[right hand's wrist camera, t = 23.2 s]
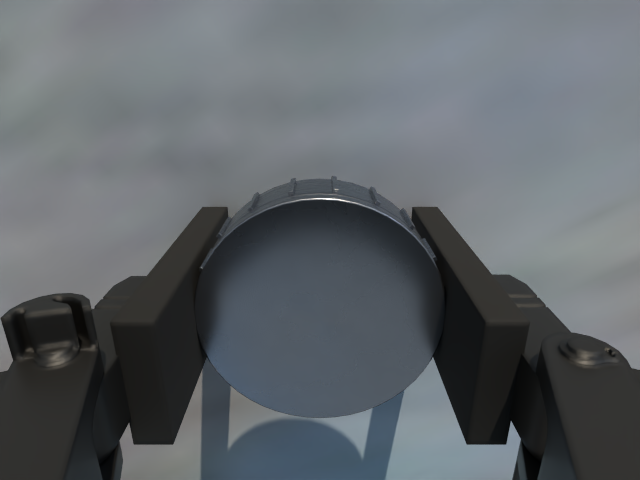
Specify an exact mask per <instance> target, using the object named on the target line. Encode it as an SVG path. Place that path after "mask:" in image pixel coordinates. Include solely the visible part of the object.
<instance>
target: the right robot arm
mask: <svg viewBox="0 0 640 480" xmlns="http://www.w3.org/2000/svg"><path fill="white" fill-rule="evenodd" d="M227 218H228V208H227V207H202V208H201V210H200V211H199V212H198V213H197V215H196V216H195V217H194V218H193V220H192V221H191V222H190V223H189V225H188V226H187V227H186V228H185V229H184V231H183V232H182V233H181V234H180V236H179V237H178V238H177V239H176V241H175V242H174V243H173V244H172V246H171V247H170V248H169V249H168V251H167V252H166V253H165V254H164V255H163V257H162V258H161V259H160V260H159V262H158V263H157V264H156V265H155V267H154V268H153V269H152V270H151V272H150V273H149V274H148V275H147V276H131V277H129V278H127V279H125V280H123V281H122V282H120V283H118V284H116V285H114V286H113V287H112V288H111V289H110V291H109V292H108V293H107V294H106V295H105V296H104V297H103V299H101V300H100V301H99V302H98V304H97V305H96V306H95V309H92V310H91V305H90V300H89V299H88V298H86V297H85V296H83V295H79V294H73V293H62V294H52V295H47V296H42V297H38V298H35V299H32V300H29V301H26V302H23V303H21V304H19V305H18V306H16V307H14V308H12V309H10V310H9V311H8V312H7V313H6V314H4V315H3V316H2V317H1V321H2V324H3V328H4V331H5V334H6V338H7V341H8V344H9V348H10V351H11V354H12V358H13V362H12V364H11V366H10V368H9V370H8V371H4V372H0V480H120V478H121V471H122V464H123V458H122V451H121V446H120V441H119V440H120V438H121V436H122V435H123V433H124V431H125V429H126V427H127V425H128V423H130V428H131V433H132V438H133V443H134V444H173V443H174V441H175V438H176V436H177V433H178V430H179V428H180V425H181V423H182V420H183V417H184V415H185V412H186V410H187V407H188V404H189V402H190V399H191V397H192V394H193V391H194V389H195V386H196V384H197V381H198V378H199V376H200V373H201V370H202V368H203V365H204V363H205V360H206V357H207V356H206V354H205V352H204V350H203V348H202V346H201V343H200V340H199V337H198V334H197V329H196V321H195V312H194V297H195V289H196V285H197V282H198V278H199V275H200V272H199V269H200V266H201V265H202V263H203V261H204V260H205V258H206V256H207V254H208V253H209V251H210V249H211V248H213V247H214V245H215V244H216V242H217V240H218V238H217V237H216V236H217V235H218V233H219V231H220V230H221V228H222V226H223V224H224V223H225V221H226V219H227ZM411 221H412V222H413V224H414V226H415V229H416V230H417V232H418V234H419V235H420V237H421V239H423V238H425V239H426V241H427V243H428V244H429V246H430V248H431V249H432V251H433V253H434V254H435V256H436V258H437V260H436V261H435V263H436V266H437V268H438V270H439V272H440V275H441V278H442V282H443V286H444V289H445V298H446V310H445V319H444V327H443V334H442V337H441V339H440V342H439V345H438V348H437V350H436V351H435V353H434V355H433V358H434V360H435V363H436V365H437V368H438V371H439V373H440V376H441V379H442V381H443V384H444V386H445V389H446V392H447V394H448V397H449V399H450V402H451V405H452V407H453V410H454V412H455V415H456V418H457V420H458V423H459V425H460V428H461V431H462V433H463V436H464V438H465V441H466V444H506V443H507V437H508V432H509V427H510V422H511V421H512V423H513V425H514V427H515V429H516V430H517V432H518V434H519V436H520V438H521V441H520V446H519V451H518V456H517V460H516V465H515V470H514V474H513V479H512V480H640V370H637V369H633V368H631V367H630V365H629V363H628V361H627V360H626V359H625V357H624V356H623V355H622V354H621V353H620V352H619V351H618V350H616V349H615V348H613V347H612V346H610V345H609V344H607V343H605V342H603V341H600V340H598V339H596V338H593V337H591V336H586V335H582V334H578V333H571V332H570V331H569V330H568V329H567V327H566V326H565V325H564V324H563V323H562V322H561V321H560V320H559V319H558V318H557V317H556V316H555V315H554V313H553V312H552V311H551V310H550V309H549V308H548V307H546V305H545V304H544V303H543V302H542V301H541V299H540V298H537V295H536V294H535V293H534V292H533V291H532V290H531V289H530V288H529V287H528V285H527V284H525V283H523V282H521V281H520V280H518V279H516V278H514V277H512V276H511V275H492V274H491V273H490V272H489V270H488V269H487V268H486V267H485V266H484V264H483V263H482V262H481V261H480V259H479V258H478V257H477V256H476V254H475V253H474V252H473V251H472V249H471V248H470V247H469V246H468V244H467V243H466V242H465V241H464V240H463V238H462V237H461V236H460V235H459V233H458V232H457V231H456V230H455V228H454V227H453V226H452V225H451V223H450V222H449V221H448V220H447V218H446V217H445V216H444V215H443V213H442V212H441V211H440V210H439V209H438V207H412V220H411Z"/></svg>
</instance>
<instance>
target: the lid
mask: <svg viewBox="0 0 640 480" xmlns="http://www.w3.org/2000/svg"><path fill="white" fill-rule="evenodd" d="M216 237H217V238H218V240H217V242H216V244H215V245H214V247H213V248H211V249H210V251H209V253H208V254H207V256H206V258H205V260H204V261H203V263H202V265H201V266H200V269H199V272H200V275H199V278H198V282H197V285H196V289H195V297H194V312H195V321H196V329H197V334H198V337H199V340H200V343H201V346H202V348H203V350H204V352H205V354H206V356H207V358H208V360H209V361H210V362H211V364H212V365H213V367H214V368H215V370H216V371H217V372H218V373H219V374H220V375H221V376H222V378H223V379H224V380H225V381H226V382H227V383H228V384H230V385H231V386H232V387H233V388H234V389H235V390H237V391H238V392H239V393H241V394H242V395H244V396H245V397H247V398H248V399H250V400H252V401H254V402H256V403H258V404H260V405H262V406H264V407H267V408H269V409H272V410H275V411H278V412H281V413H285V414H289V415H294V416H301V417H311V418H328V417H339V416H345V415H351V414H355V413H358V412H362V411H365V410H368V409H370V408H373V407H376V406H378V405H380V404H382V403H384V402H386V401H388V400H390V399H391V398H393V397H394V396H396V395H397V394H399V393H400V392H402V391H403V390H404V389H406V388H407V387H408V386H409V385H410V384H411V383H413V382H414V381H415V380H416V378H417V377H418V376H419V375H420V374H421V373H422V372H423V371H424V369H425V368H426V366H427V365H428V364H429V362H430V361H431V359H432V357H433V355H434V353H435V351H436V350H437V348H438V345H439V342H440V339H441V337H442V334H443V327H444V319H445V310H446V298H445V289H444V286H443V282H442V278H441V275H440V272H439V270H438V268H437V266H436V263H435V261H436V260H437V258H436V256H435V254H434V253H433V251H432V249H431V248H430V246H429V244H428V243H427V241H426V239H425V238H423V239H421V237H420V235H419V234H418V232H417V230H416V229H415V226H414V224H413V222H412V221H411V219H410V217H409V215H408V214H407V212H406V210H405V209H404V208H403V209H402V210H400V209H398V208H397V207H396V206H395V205H394V204H393V203H392V202H390V201H389V200H387V199H386V198H384V197H383V196H381V195H380V194H378V193H377V192H376V190H375V188H373V187H370V189H367V188H365V187H362V186H359V185H356V184H353V183H350V182H344V181H339V180H337V178H336V177H335V176H332V179H309V180H301V181H296V178H293V179H291V182H290V183H287V184H284V185H281V186H278V187H275V188H272V189H270V190H268V191H266V192H264V193H262V194H259V193H258V192H257V193H256V194H254V196H253V198H252V200H251V201H250V202H248V203H247V204H246V205H245V206H244V207H243V208H241V209H240V210H239V211H238V212H237V213H236V214H235V215H234V217H233V218H232V219H231V218H230V217H228V218H227V219H226V221H225V223H224V224H223V226H222V228H221V230H220V231H219V233H218V235H217V236H216Z"/></svg>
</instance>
